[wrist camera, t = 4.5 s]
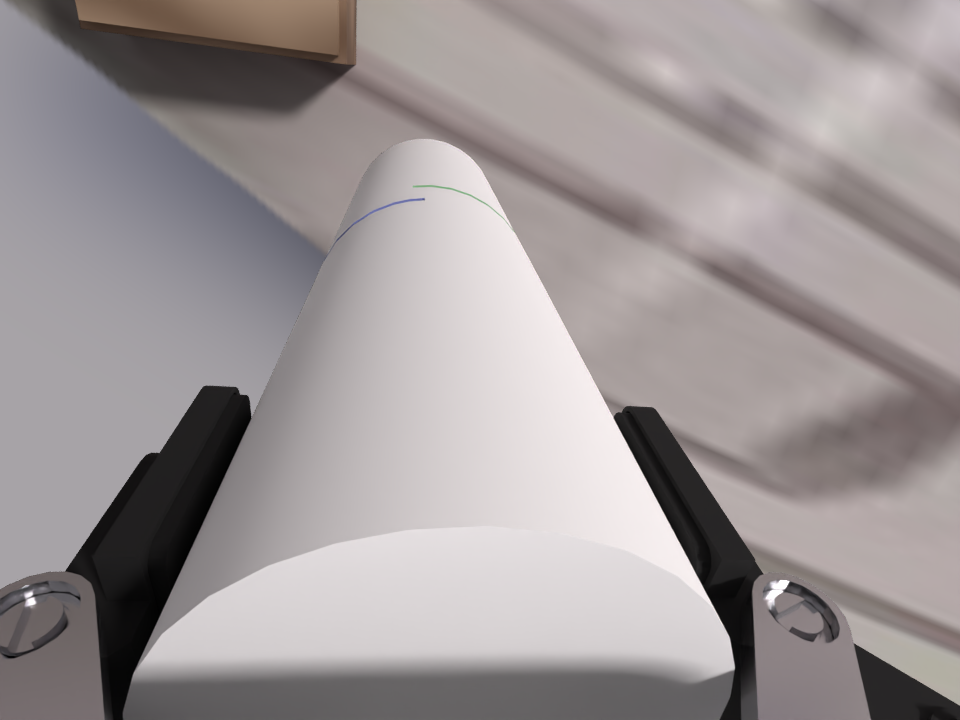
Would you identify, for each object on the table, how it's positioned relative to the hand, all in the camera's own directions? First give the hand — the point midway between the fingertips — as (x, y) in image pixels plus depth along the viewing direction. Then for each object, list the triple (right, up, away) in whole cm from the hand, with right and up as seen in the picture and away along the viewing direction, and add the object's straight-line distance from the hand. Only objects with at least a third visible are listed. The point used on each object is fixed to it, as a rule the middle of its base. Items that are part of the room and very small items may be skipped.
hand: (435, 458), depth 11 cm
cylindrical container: (-2, +10, +17) cm, 20 cm away
